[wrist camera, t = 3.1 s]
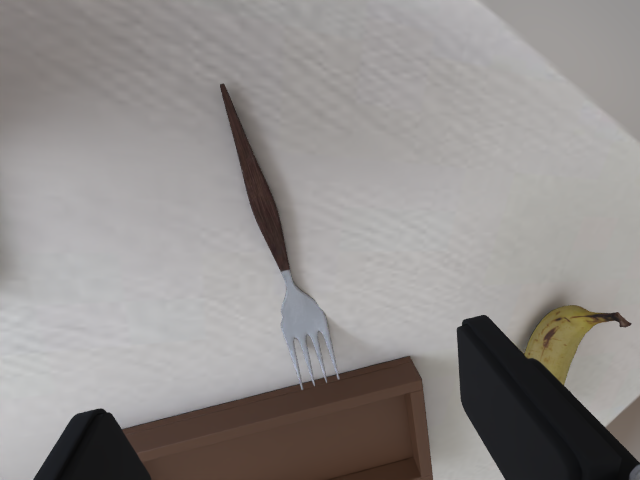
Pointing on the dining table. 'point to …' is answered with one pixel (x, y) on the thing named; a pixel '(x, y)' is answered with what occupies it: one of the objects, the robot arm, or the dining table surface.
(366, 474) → the tray
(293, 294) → the fork
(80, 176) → the dining table surface
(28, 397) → the dining table surface
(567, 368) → the banana
